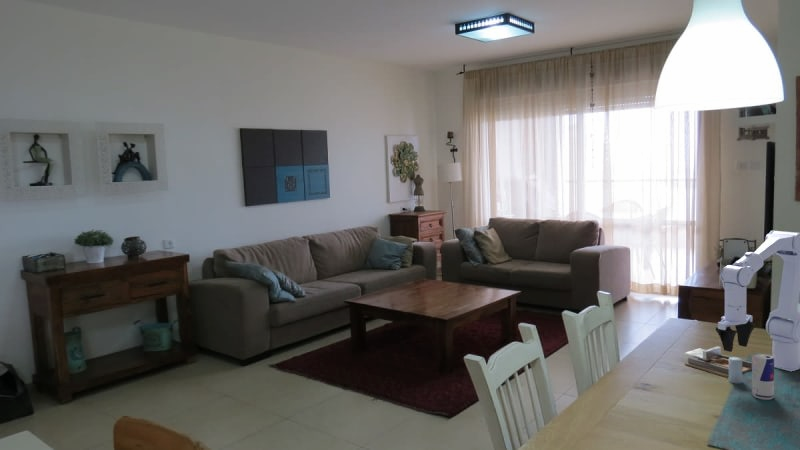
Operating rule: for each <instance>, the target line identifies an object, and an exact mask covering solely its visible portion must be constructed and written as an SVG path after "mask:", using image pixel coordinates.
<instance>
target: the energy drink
mask: <svg viewBox="0 0 800 450" xmlns="http://www.w3.org/2000/svg"><path fill="white" fill-rule="evenodd" d="M751 362H752V370H751V395H752V396H753V397H754V398H756V399H759V400H763V401H770V400H772V399H774V398H775V367H774V358H773V356H772V355H771V354H769V353H764V352H757V353H753V355H752V357H751Z"/></svg>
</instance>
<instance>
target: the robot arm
mask: <svg viewBox="0 0 800 450" xmlns="http://www.w3.org/2000/svg"><path fill="white" fill-rule="evenodd" d="M774 254H776V255H777V256H779V257H780V258H781V259H782V260H783V267H782V274H781V281H780V288H779V289H780V290H779V298H778V304H777V305H778V306H777V308H776V309H773V310H772V311H771V312H769V315H768V319H767V321H766V323H765V330H766V333H767V334H768V335H769V338H770V339H772V348H771V349H772V353H771V354H772V356H773V358H774V368H776V369H779V370H784V371H787V372H792V371H793V372H795V371H797V370H800V312H799V311H798V307H799V301H800V232H793V231H781V230H773V229H772V230H770V232H769V233H767V234H766V236H765V239H764V242H763V243H762V244H761V245H760V246H758V248H756V250H755V251H749V252H747V251H746V252H745V253H744V255H743V256H742V257H740V258H739V259H738V260H736V261H735V262H734V263H733V264H728V265H726V266H724V267H723V268H722V269H721V272H720V275H719V278H720V281H721V282H722V288H723V290H724V315H723V316H721V320H720V321H717V326H715V331H716V332H717V334H718V336H719V339H720V340H721V344H722V348H723V350H724V351H726V352H729V353H731V352H733V349H734V342H735V340H734V339H735V337H736V336H737V343H738V346H741V347H745V348H746V347H748V343H749V340H750V336H751V334H752V332H753V331H754V329H755V328H756V324H755V323H753V319H754V318H753V315H751V314H747V286H749V285H750V283H751V281H752V278H753V277H754V275H755V273H757V272H758V271H759V270H760V269H761V268H763V267H764V264H765V263H764V261H765V260H766V259H768V258H770V257H771V256H773V255H774ZM733 327H734V328H735V329H732V328H733Z"/></svg>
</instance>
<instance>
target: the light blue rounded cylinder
mask: <svg viewBox="0 0 800 450" xmlns="http://www.w3.org/2000/svg"><path fill="white" fill-rule="evenodd" d="M729 357H730V358H729V378H728V381H729V382H730V383H733V384H742V383H743V373H742V360H743V359H742V358H741V357H736V356H729Z"/></svg>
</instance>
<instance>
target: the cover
mask: <svg viewBox="0 0 800 450" xmlns="http://www.w3.org/2000/svg"><path fill="white" fill-rule="evenodd" d="M721 354H722V347H721V346H717V345H716V346H714V347H711V348H708V349H703V348H700V347H698V348H696V349H695V348H694V349H693V350H688V351H686V352H684V353H683V355H684V356H688V357H690V358H694V359H702V360H705V361H707V360H710V359H713V358H716V357H719V356H721Z"/></svg>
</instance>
